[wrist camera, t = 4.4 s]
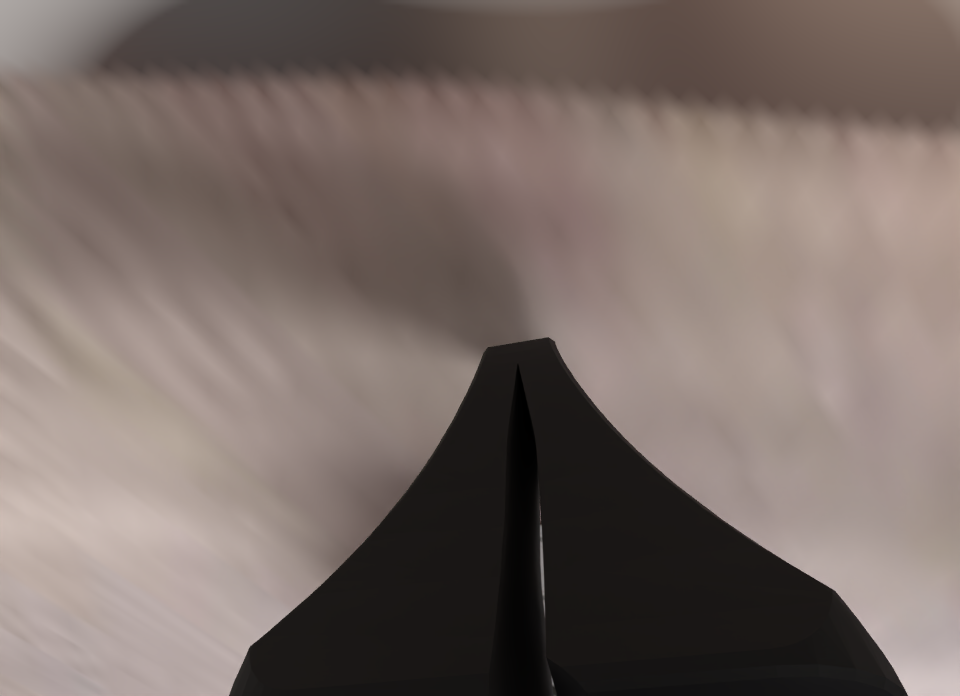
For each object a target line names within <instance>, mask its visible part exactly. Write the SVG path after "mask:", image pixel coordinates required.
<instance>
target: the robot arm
mask: <svg viewBox="0 0 960 696" xmlns="http://www.w3.org/2000/svg"><path fill="white" fill-rule="evenodd" d="M540 508H541V524H542V545H543V567H544V597H545V613H544V603H543V594H542V582H541V563H540ZM551 676H552V677H551ZM552 679H553V683H554V686H555V690H556V693H557V696H908V695H907V693H906V691H905V689H904V687H903V685H902V683H901V682H900V680H899V678H898V676H897V674H896V672H895V671H894V669H893V667H892V666H891V664H890V663H889V661H888V660H887V658H886V657H885V655H884V654H883V652H882V651H881V650H880V648H879V647H878V645H877V644H876V643H875V641H874V640H873V639H872V637H871V636H870V635H869V633H868V632H867V631H866V629H865V628H864V627H863V625H862V624H861V623H860V621H859V620H858V619H857V617H856V616H855V615H854V614H853V612H852V611H851V610H850V609H849V607H848V606H847V605H846V604H845V602H844V601H843V600H842V599H841V597H840V596H839V595H838V594H837V593H836V591H834V590H833V589H831V588H829V587H828V586H826V585H824V584H823V583H821V582H819V581H818V580H816V579H814V578H812V577H811V576H809V575H807V574H806V573H804V572H802V571H801V570H799V569H797V568H796V567H794V566H792V565H791V564H789V563H787V562H786V561H784V560H782V559H781V558H779V557H778V556H776V555H774V554H773V553H771V552H770V551H768V550H766V549H765V548H763V547H762V546H760V545H759V544H757V543H756V542H754V541H753V540H751V539H750V538H748V537H747V536H745V535H744V534H742V533H741V532H739V531H738V530H736V529H735V528H734V527H732V526H731V525H729V524H728V523H726V522H725V521H723V520H722V519H721V518H719V517H718V516H717V515H715V514H714V513H713V512H711V511H710V510H709V509H707V508H706V507H705V506H703V505H702V504H701V503H699V502H698V501H697V500H695V499H694V498H693V497H692V496H690V495H689V494H688V493H686V492H685V491H684V490H682V489H681V488H680V487H678V486H677V485H676V484H675V483H673V482H672V481H671V480H670V479H669V478H667V477H666V476H665V475H664V474H663V473H662V472H661V471H659V470H658V469H657V468H656V467H655V466H654V465H652V464H651V463H650V462H649V461H648V460H647V459H646V458H645V457H644V456H643V455H642V454H641V453H639V452H638V451H637V450H636V449H635V448H634V447H633V446H632V445H631V444H630V443H629V442H628V441H627V440H626V439H625V438H624V437H623V436H622V435H621V434H620V433H619V432H618V431H617V430H616V428H615V427H614V426H613V425H612V424H611V423H610V422H609V421H608V420H607V418H606V417H605V416H604V415H603V414H602V413H601V412H600V410H599V409H598V408H597V407H596V406H595V404H594V403H593V402H592V401H591V399H590V398H589V397H588V395H587V394H586V393H585V392H584V390H583V389H582V388H581V386H580V385H579V384H578V382H577V381H576V379H575V378H574V377H573V375H572V374H571V372H570V370H569V369H568V367H567V366H566V364H565V363H564V361H563V359H562V357H561V355H560V353H559V351H558V349H557V347H556V344H555V341H553V340H552V339H550V338H549V337H548V338H542V339H536V340H530V341H524V342H518V343H512V344H506V345H500V346H494V347H488V348H487V349H486V350H485V352H484V353H483V356H482V359H481V361H480V364H479V366H478V369H477V371H476V374H475V376H474V378H473V381H472V383H471V385H470V387H469V389H468V392H467V394H466V396H465V397H464V399H463V401H462V403H461V405H460V407H459V409H458V411H457V413H456V415H455V417H454V419H453V421H452V423H451V424H450V426H449V428H448V429H447V431H446V433H445V434H444V436H443V438H442V439H441V441H440V443H439V444H438V446H437V448H436V450H435V451H434V453H433V454H432V456H431V457H430V459H429V460H428V462H427V463H426V465H425V466H424V468H423V469H422V471H421V472H420V474H419V475H418V476H417V478H416V479H415V481H414V482H413V483H412V485H411V486H410V487H409V489H408V490H407V491H406V493H405V494H404V495H403V497H402V498H401V499H400V500H399V501H398V503H397V504H396V505H395V506H394V508H393V509H392V510H391V511H390V513H389V514H388V515H387V516H386V517H385V519H384V520H383V521H382V522H381V523H380V525H379V526H378V527H377V528H376V529H375V530H374V532H373V533H372V534H371V535H370V536H369V537H368V538H367V539H366V540H365V542H364V543H363V544H362V545H361V546H360V547H359V548H358V549H357V550H356V551H355V552H354V553H353V554H352V555H351V556H350V557H349V558H348V559H347V560H346V561H345V562H344V563H343V564H342V565H341V566H340V567H339V568H338V569H337V570H336V571H335V572H334V573H333V574H332V575H331V576H330V577H329V578H328V579H327V580H326V581H325V582H324V583H323V584H322V585H321V586H320V587H319V588H317V589H316V590H315V591H314V592H313V593H312V594H311V595H310V596H309V597H308V598H307V599H305V600H304V601H303V602H302V603H301V604H300V605H298V606H297V607H296V608H295V609H294V610H293V611H292V612H290V613H289V614H288V615H287V616H286V617H285V618H283V619H282V620H281V621H280V622H279V623H278V624H277V625H275V626H274V627H273V628H272V629H271V630H270V631H268V632H267V633H266V634H265V635H264V636H263V637H261V638H260V639H259V640H258V641H257V642H255V643H254V644H253V645H252V646H250V648H249V650H248V652H247V655H246V657H245V659H244V662H243V664H242V666H241V668H240V670H239V673H238V675H237V677H236V679H235V681H234V684H233V687H232V689H231V692H230V695H229V696H554V695H553V686H552Z"/></svg>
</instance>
